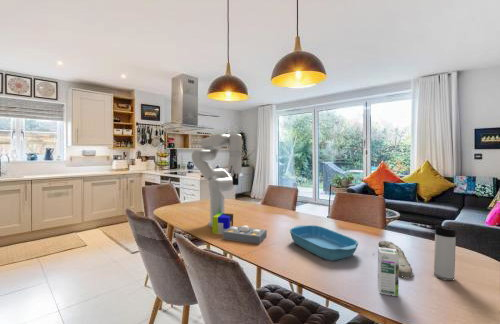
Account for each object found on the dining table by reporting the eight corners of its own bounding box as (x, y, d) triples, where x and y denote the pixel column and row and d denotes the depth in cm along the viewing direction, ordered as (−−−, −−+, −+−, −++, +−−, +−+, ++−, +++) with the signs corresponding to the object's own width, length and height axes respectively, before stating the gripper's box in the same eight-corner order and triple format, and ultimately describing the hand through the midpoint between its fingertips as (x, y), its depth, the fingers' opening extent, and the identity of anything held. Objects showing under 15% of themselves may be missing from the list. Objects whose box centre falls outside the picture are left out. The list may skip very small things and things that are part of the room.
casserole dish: (368, 257, 113) (368, 242, 113) (333, 268, 103) (333, 251, 103) (312, 234, 146) (313, 222, 146) (282, 240, 136) (282, 228, 135)
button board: (231, 232, 149) (231, 225, 149) (266, 236, 141) (266, 229, 141) (222, 238, 138) (222, 231, 138) (259, 244, 130) (259, 236, 130)
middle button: (242, 231, 142) (242, 225, 142) (249, 231, 141) (249, 225, 141) (239, 233, 138) (239, 227, 138) (247, 234, 137) (247, 228, 137)
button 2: (254, 234, 140) (254, 228, 140) (261, 235, 138) (261, 229, 138) (251, 237, 136) (251, 231, 136) (258, 238, 134) (258, 232, 134)
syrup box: (379, 294, 84) (380, 252, 83) (377, 285, 89) (377, 246, 89) (398, 297, 82) (399, 254, 81) (395, 288, 87) (395, 248, 87)
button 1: (231, 232, 145) (231, 226, 145) (238, 233, 143) (238, 227, 143) (228, 234, 141) (228, 228, 141) (235, 235, 139) (235, 229, 139)
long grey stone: (389, 279, 96) (418, 285, 93) (390, 267, 96) (420, 272, 93) (374, 243, 130) (396, 247, 126) (375, 234, 129) (397, 237, 126)
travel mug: (429, 273, 98) (430, 224, 98) (444, 272, 99) (445, 223, 98) (442, 281, 92) (444, 228, 91) (458, 280, 93) (460, 228, 92)
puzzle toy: (228, 234, 145) (228, 217, 145) (212, 233, 147) (212, 217, 147) (233, 229, 155) (233, 213, 155) (218, 228, 157) (218, 213, 157)
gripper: (235, 154, 156) (235, 183, 157) (224, 154, 142) (224, 186, 143) (245, 154, 153) (245, 183, 154) (236, 154, 139) (236, 186, 140)
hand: (235, 184), depth 148 cm, fingers closed
